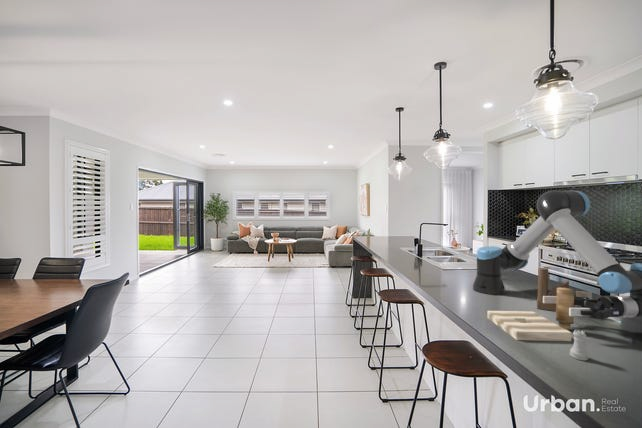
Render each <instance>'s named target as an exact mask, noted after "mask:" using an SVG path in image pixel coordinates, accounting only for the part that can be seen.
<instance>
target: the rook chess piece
mask: <svg viewBox="0 0 642 428" xmlns="http://www.w3.org/2000/svg"><path fill="white" fill-rule="evenodd" d="M572 335H573V345H572V346H571V348H570V349H569V355H570V357H572V358H573V359H576V360H578V361H583V362H584V361H588V360H589V359H590V358H589V354H588V353H589V352H588V350H587V349H586V346H585V345H586V337H587V335H586V331H584V330H581V331H580V330H579V329H574V331H573V332H572Z"/></svg>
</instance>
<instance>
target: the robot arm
mask: <svg viewBox="0 0 642 428" xmlns="http://www.w3.org/2000/svg"><path fill="white" fill-rule="evenodd" d="M590 208H591V200H590V199H589V197H588V196H587V194H585V193H584V192H583V191H579V190H578V191H577V190H557V189H556V190H554V189H553V190H548V191H546V192H544V193H542V194H541V195H540V196H539V197H538V199H537V201H536V210H537V212H538V215H539V217H538V218H536V219H535V221H534V222H533V223H532V224H531V225H530V226H528V228H526V230H525V231H524V232H522V234H521V235H520V236H519V237H518V238H517V239H516V240H515V241H512V242H511V241H509V242H508V243H507V244H506V245H505V246H504V247H502V248H501V247H499V246H497V245H496V246H494V245H491V246H482V247H479V248H478V249H477V251H476V276H475V279H474V280H473V283H472V289H473V290H474V291H475V292H477V293H481V294H487V295H504V294H505V293H506V287H505V284H504V281H503V278H502V271H518V270H520V269H524V268H525V267H526V266H527V265H528V263H529V259H530V253H531V252H532V251H533V250H535V249H536V248H537V247H538V246H539V245H540V244H542V243H543V242H544V241H545V239H547V238H549V236H550V235H551V234H553V233H554V232H555V231H557V232H558V233H559V234H560V235H561V237H563V239H564V240H565V241H566V242H567V243H568V244H569V245H570V246H571V248H573V249H574V250H575V252H576V253H577V254H578V255H579V256H580V257H581V258H582V260H583V261H584V262H585V263H587V265H588V266H589V268H591V270H592V271H594V272H595V273H596V275H597V276H598V280H597V281H598V284H599V286H600V288H601V289H602V290H603V291H605V292H606V293H608V294H613V295H602V296H601V295H600V297H598V299H594V298H592V299H589V298H588V297H577V296H576V295H574V306H576V305H577V306H576V307H574V308H569V316H574V317H592V318H597V319H598V320H604V319H608V318H622V319H626V318H641V319H642V263H639V262H638V263H636V262H635V263H634V262H633V263H631V264H630V267H629V269H628V270H627V269H625V268H624V266H623V265H621V264H620V263H619V262H618V261H617V260H616V259H615V258H614V257H613V256H612V255H611V254H610V253H609V252H608V251H607V250H606V249H605V247H603V246H602V245H601V244H600V243H599V242H598V240H597V239H596V238H595V237H593V235H592V234H591V233H590V232H589V231H588V230H586V228H584V226H583V225H582V224H581V223H580V222H579V221H578V220H577V219H576V217H577V218H578V217H579V218H580V217H582V216H585V215H586V214H587V213H588V212H589V210H590ZM616 294H617V295H616ZM619 294H620V295H619ZM624 294H629V295H624ZM543 303H554V304H556V303H557V295H548V296H543ZM584 304H586V306H584ZM579 306H581V307H579Z"/></svg>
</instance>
